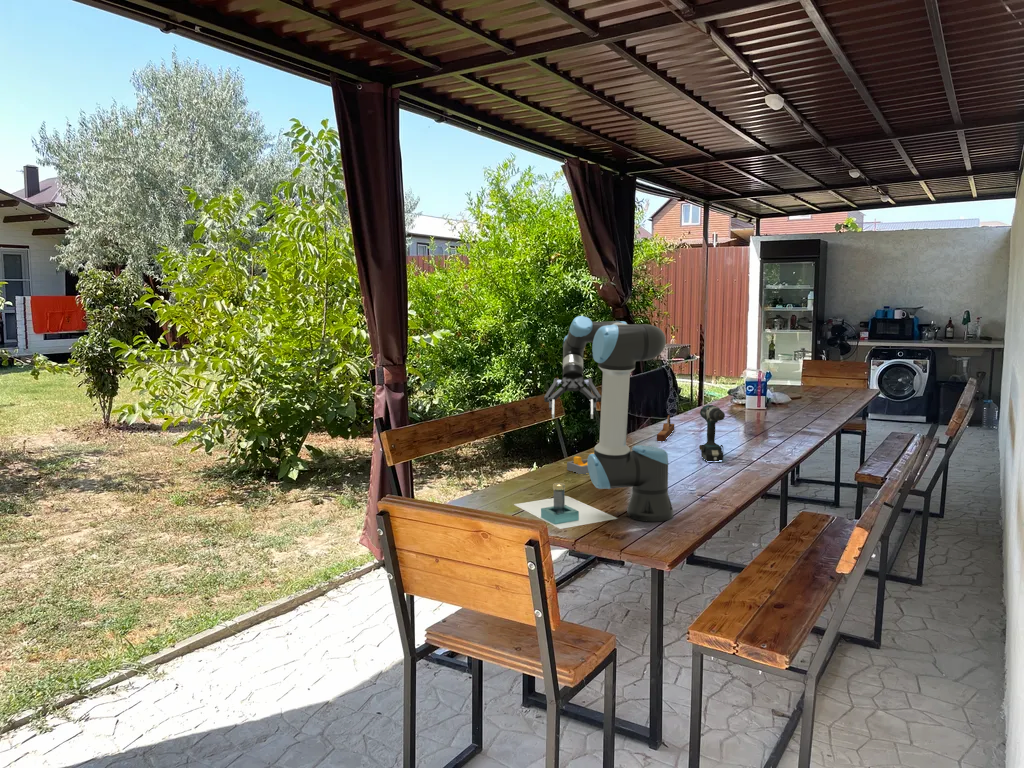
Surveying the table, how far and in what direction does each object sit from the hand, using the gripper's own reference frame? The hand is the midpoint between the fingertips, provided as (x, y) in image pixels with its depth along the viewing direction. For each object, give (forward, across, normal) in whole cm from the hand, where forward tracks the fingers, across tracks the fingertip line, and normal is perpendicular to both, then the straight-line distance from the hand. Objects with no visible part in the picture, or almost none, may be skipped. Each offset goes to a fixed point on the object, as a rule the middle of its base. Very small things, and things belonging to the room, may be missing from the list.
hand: (572, 416), depth 254 cm
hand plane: (-70, -46, -116) cm, 143 cm away
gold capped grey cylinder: (+36, +4, -8) cm, 37 cm away
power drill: (-27, -61, -72) cm, 98 cm away
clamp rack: (-16, -7, -60) cm, 63 cm away
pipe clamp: (-15, -5, -60) cm, 62 cm away
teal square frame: (+36, +4, -7) cm, 37 cm away
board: (+30, +3, -14) cm, 34 cm away
